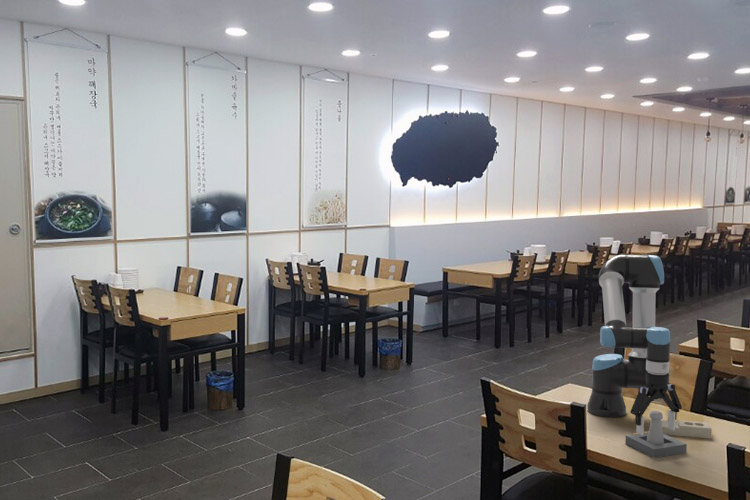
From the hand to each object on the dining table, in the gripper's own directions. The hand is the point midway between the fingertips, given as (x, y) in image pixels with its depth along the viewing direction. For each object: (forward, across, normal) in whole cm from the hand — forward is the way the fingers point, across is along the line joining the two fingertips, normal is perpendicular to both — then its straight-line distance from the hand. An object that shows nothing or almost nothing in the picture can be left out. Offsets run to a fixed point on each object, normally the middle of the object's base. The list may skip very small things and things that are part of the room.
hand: (655, 431), depth 233 cm
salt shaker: (+6, 0, 0) cm, 6 cm away
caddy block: (+6, 0, 0) cm, 6 cm away
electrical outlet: (+7, +21, +9) cm, 23 cm away
